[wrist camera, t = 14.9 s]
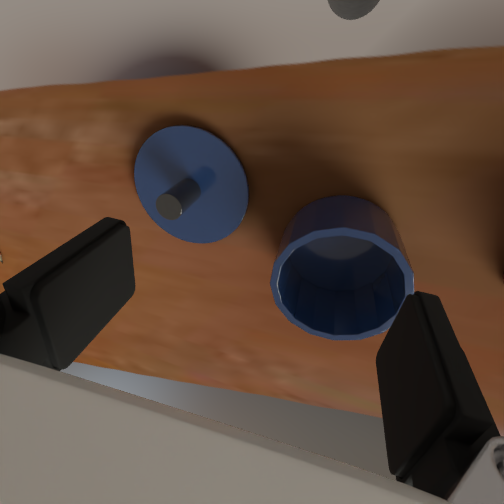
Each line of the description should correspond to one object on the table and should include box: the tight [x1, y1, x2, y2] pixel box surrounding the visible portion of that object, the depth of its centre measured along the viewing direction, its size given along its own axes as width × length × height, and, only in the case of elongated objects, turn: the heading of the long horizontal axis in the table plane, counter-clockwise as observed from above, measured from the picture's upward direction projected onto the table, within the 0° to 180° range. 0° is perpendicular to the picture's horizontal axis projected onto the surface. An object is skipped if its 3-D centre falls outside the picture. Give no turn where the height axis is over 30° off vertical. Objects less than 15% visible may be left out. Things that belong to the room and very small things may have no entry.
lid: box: [134, 125, 249, 243], centre depth 36 cm, size 15×15×7 cm
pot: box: [270, 196, 414, 340], centre depth 34 cm, size 14×14×8 cm
